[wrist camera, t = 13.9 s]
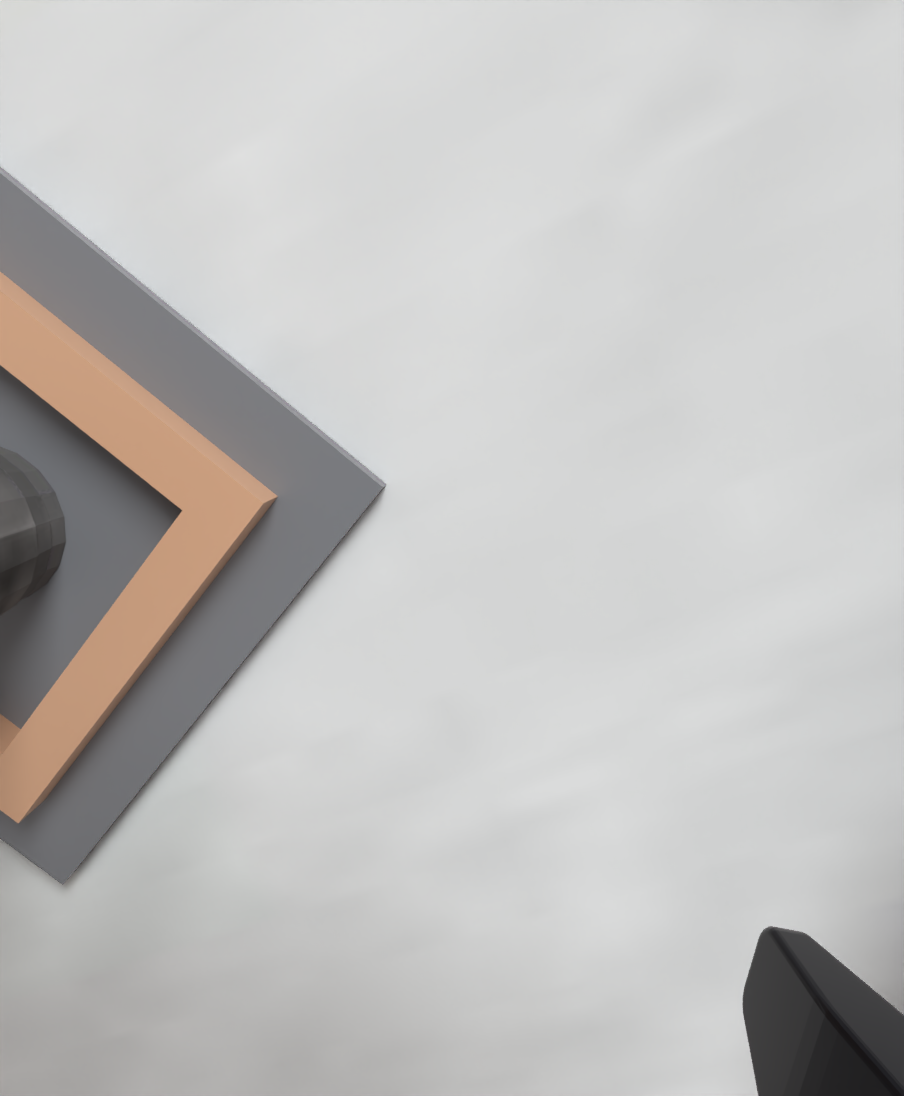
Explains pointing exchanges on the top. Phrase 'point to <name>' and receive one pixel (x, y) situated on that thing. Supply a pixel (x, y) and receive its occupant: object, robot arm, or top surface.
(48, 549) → the beverage cup
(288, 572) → the cup dock
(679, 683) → the top surface
